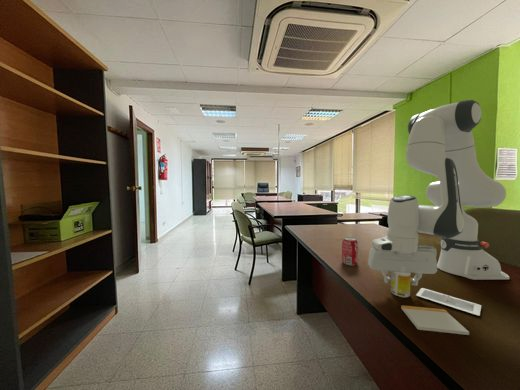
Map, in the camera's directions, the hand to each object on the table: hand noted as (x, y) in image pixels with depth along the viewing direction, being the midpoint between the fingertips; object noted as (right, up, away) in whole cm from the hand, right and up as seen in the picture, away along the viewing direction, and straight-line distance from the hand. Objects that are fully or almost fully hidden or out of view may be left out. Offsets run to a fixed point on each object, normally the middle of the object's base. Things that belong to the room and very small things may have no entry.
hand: (400, 283), depth 75 cm
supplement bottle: (0, -4, 0) cm, 4 cm away
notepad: (0, -5, -14) cm, 15 cm away
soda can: (-6, -2, +28) cm, 28 cm away
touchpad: (+12, -5, -5) cm, 14 cm away
